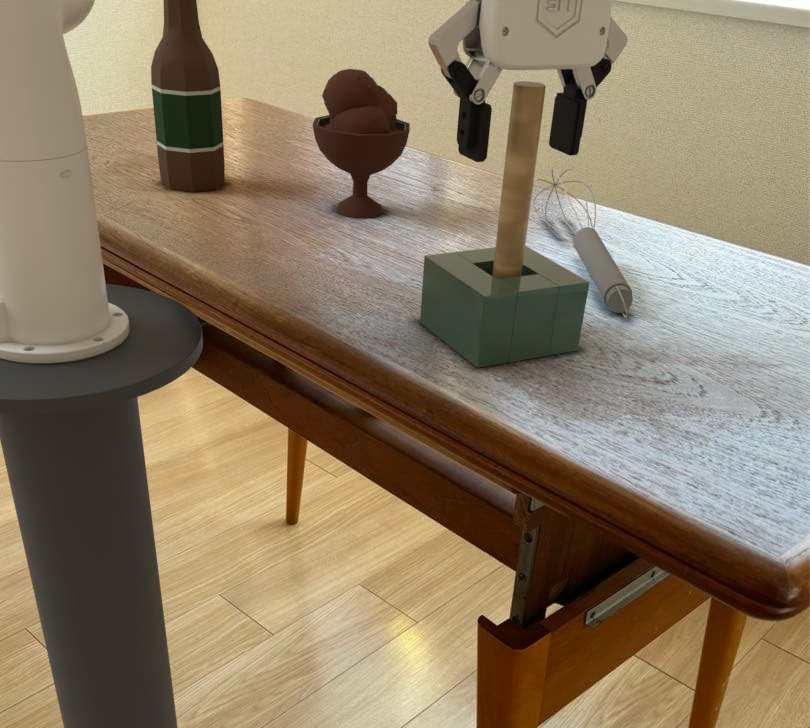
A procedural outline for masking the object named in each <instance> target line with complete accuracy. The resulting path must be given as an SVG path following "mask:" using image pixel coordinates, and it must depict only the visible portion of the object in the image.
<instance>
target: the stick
mask: <svg viewBox="0 0 810 728" xmlns="http://www.w3.org/2000/svg"><path fill="white" fill-rule="evenodd" d="M546 87H547V86H546V84H545V83H542V82H536V81H530V80H529V81H526V80H525V81H523V80H522V81H520V80H519V81H515V82H514V83H513V86H512V93H511V94H512V96H511V102H510V103H511V104H510V105H511V106H510V112H509V123H508V131H507V139H506V140H507V141H506V149H505V151H506V152H505V157H504V168H503V177H502V186H501V194H500V201H499V203H500V204H499V211H498V221H497V228H496V229H497V230H496V238H495V247H494V248H495V256H494V265H493V274H492V276H493V277H494V278H496V279H497V280H498V279H505V278H513V277H520V276H521V274H522V267H523V259H524V251H525V246H526V244H527V235H528V226H529V219H530V212H531V204H532V197H533V190H534V189H533V188H534V181H535V173H536V167H537V166H536V165H537V160H538V159H537V157H538V149H539V142H540V135H541V128H542V127H541V126H542V119H543V112H544V104H545V97H546V89H547V88H546Z"/></svg>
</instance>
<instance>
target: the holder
mask: <svg viewBox="0 0 810 728" xmlns="http://www.w3.org/2000/svg"><path fill="white" fill-rule="evenodd" d="M494 256H495V247H486V248H477V249H467V250H461V251H453V252H444V253H435V254H427V255H424V259H423V272H422V287H421V300H420V301H421V302H420V316H419V323H420V324H421V325H422V326H423V327H425V328H426V329H427V330H429V331H430V332H431V333H433V334H434V335H435V336H437V337H438V338H439V339H440V340H441V341H443V342H444V343H446V345H448V346H449V347H450V348H451V349H452V350H454V351H455V352H457V353H458V354H459V355H460V356H462V357H463V358H465V360H466V361H468V362H469V363H470V364H472V365H473V366H474V367H475V368H478V369H479V368H485V367H490V366H496V365H502V364H507V363H513V362H520V361H525V360H530V359H537V358H542V357H543V358H544V357H549V356H554V355H561V354H566V353H571V352H576V351H578V350H579V345H580V340H581V334H582V329H583V323H584V318H585V311H586V306H587V300H588V296H589V295H588V294H589V288H590V281H588V279H585V278H583V277H581V276H580V275H578V274H577V273H574V272H573V271H571V270H569V269H568V268H566V267H564V266H563V265H560V264H559V263H557V262H555V261H554V260H553V259H550V258H548V257H547V256H545V255H543V254H541V253H539V252H538V251H536V250H534V249H533V248H531V247H529V246H527V245H525V251H524V259H523V267H522V274H521V276H520V277H513V278H505V279H498V280H497V279H496V278H494V277H493V276H492V274H493V265H494Z"/></svg>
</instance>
